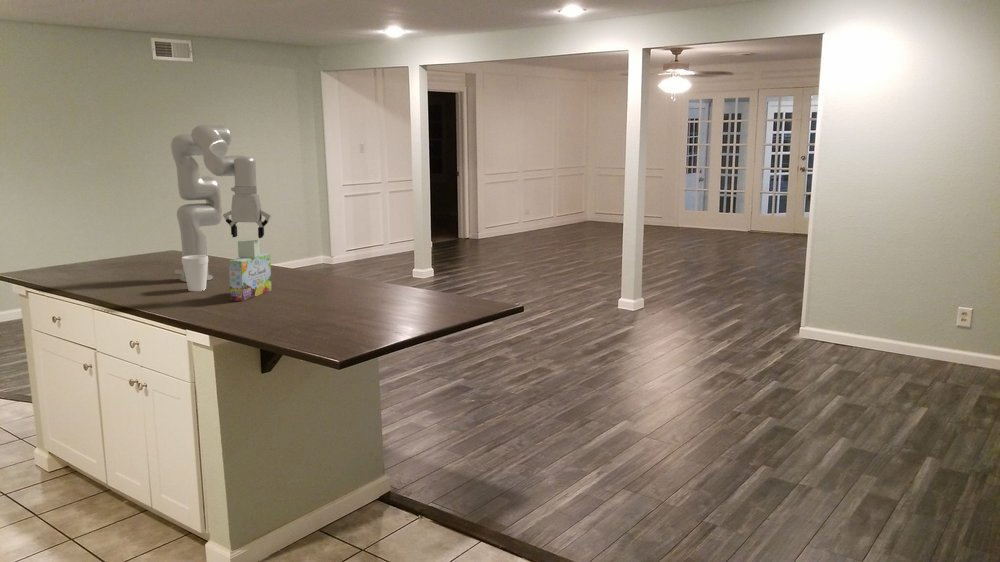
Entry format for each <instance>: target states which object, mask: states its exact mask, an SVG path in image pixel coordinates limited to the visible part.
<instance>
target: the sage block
mask: <svg viewBox="0 0 1000 562" xmlns="http://www.w3.org/2000/svg"><path fill="white" fill-rule="evenodd" d="M260 239H261V238H258V239H254V238H253V239H250V238H249V239H248V238H247V239H246V238H245V239H241V240H238V241H237V250H238V251H237V253H238V258H241V257H242V258H255V257H257V256H260V253H261V244H260V243H261V242H260V241H261V240H260Z"/></svg>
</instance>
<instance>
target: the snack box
mask: <svg viewBox="0 0 1000 562" xmlns="http://www.w3.org/2000/svg"><path fill="white" fill-rule="evenodd" d="M271 266H272V264H271V253H269V252H260V256H257V257H255V258H242V257H237V258H234V259H230V260H228V270H229V271H228V272H229V273H228V274H229V294H230V295H229V297H230V301H233V302H245V301H247V300H250V299H253V298H255V296H256V297H258V296H261V295H263V293H264V294H266V292H267V293H269V292H271V291H272V267H271ZM268 291H269V292H268ZM260 294H261V295H260Z"/></svg>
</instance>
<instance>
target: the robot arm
mask: <svg viewBox="0 0 1000 562" xmlns="http://www.w3.org/2000/svg"><path fill="white" fill-rule="evenodd" d="M231 142H232V135H231V131H230V129H228V127H227V126H225V125H221V124H199V125H196V126H195V127H194V128H193V129H192V130H191V132H190V133H185V134H177V135H174V136H173V138H171V142H170V150H171V155H172V158H173V160H174V163H175V166H176V167H175V168H176V176H177V177H176V178H177V186H178V194H179V197H180V198H181V200H184V201H205V202H203V203H202V202H201V203H187V204H183V205H180V206H179V207H178V208H177V211H176V219H177V222H178V227H179V231H180V241H181V253H182V254H181V255H182V257H184V256H190V255H206V256H208V249H207V248H208V247H207V238H206V235H205V233H204V232H203V230H202V229H200V227H209V226H217V225H219V224H221V222H222V218H224V220H225V222H226V223H227V224H228V225H229V227H230V232H231V234H230V235H232V238H237V237H238V225H237V223H252V224H253V223H256V224H257V225H258V228H257V236H258V239H261V238H264V236H265V226H266V225H267V224H268V223H269V221H270V219H271V218H272V216H271V214H270V213H267V212H266V211H263V210H262V205H261V199H260V196H259V194H258V192H257V191H258V188H257V170H256V168H257V167H256V166H257V165H256V160H255V158H254V157H250V156H245V155H227V152H228V149H229V145H230V144H231ZM193 156H203V157H202V158H203V162H204V165H205V167H206V169H207V170H208V171H209V172H210V173H211V174H212V175H215V176H216V177H233V178H234V186H233V187H231V188H230V190H231V192H234V194H233V195H232V197H231V209H230V211H229V210H228V211H227V212H225V213H224V214H223V212H222V200H221V188H220V185H219V182H218V180H217V179H216V178H214V177H212V176H201V175H200V166H199V163H198V162H197V161H196V160H195V158H194V157H193ZM229 216H231V218H230V217H229ZM263 217H264V220H262V218H263ZM174 275H176V276H179V275H180V276H181V277H180V278H179V279H180V281H181V282H184V283H187V282H186V277H185V272H184V268H183V267H182V269H175V270H174ZM213 278H214V277H213V275H212V274H209V266H208V267H207V281H210V280H212V279H213Z"/></svg>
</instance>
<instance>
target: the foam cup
mask: <svg viewBox="0 0 1000 562" xmlns="http://www.w3.org/2000/svg"><path fill="white" fill-rule="evenodd" d="M208 263H209V256H208V255H207V256H206V255H190V256H184V257H183V256H182V257H181V264H182V266H183V267H182V269H183V268H184V272H185V277H186V282H185V283H186V286H187V289H188V291H189V292H202V290H203V291H206V290H207V282H208V280H207V267H208V268H209V264H208ZM205 289H206V290H205Z"/></svg>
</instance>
